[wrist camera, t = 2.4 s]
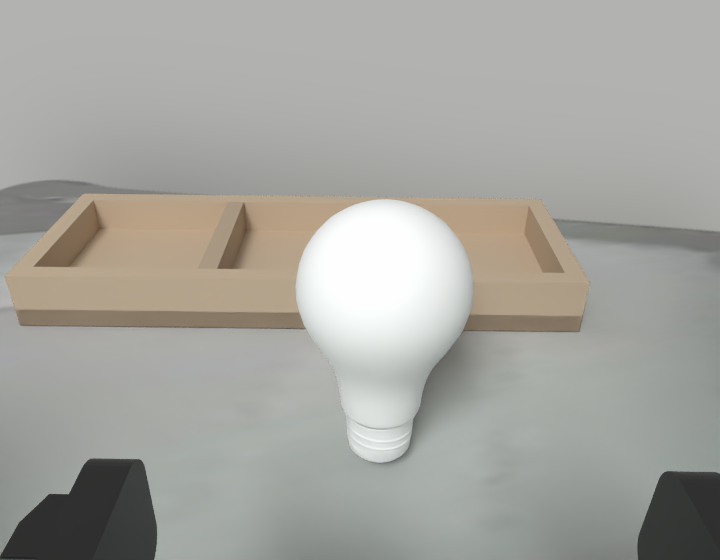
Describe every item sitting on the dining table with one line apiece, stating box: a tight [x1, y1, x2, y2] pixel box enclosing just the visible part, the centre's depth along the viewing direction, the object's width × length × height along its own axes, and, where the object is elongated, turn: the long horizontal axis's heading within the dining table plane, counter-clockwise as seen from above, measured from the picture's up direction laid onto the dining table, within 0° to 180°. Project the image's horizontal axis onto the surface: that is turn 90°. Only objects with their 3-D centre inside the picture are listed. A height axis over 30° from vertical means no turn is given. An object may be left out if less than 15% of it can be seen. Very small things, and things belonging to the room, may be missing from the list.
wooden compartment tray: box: [5, 194, 590, 332], centre depth 37 cm, size 30×10×3 cm, turn 90°
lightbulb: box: [295, 199, 474, 463], centre depth 23 cm, size 6×6×11 cm
